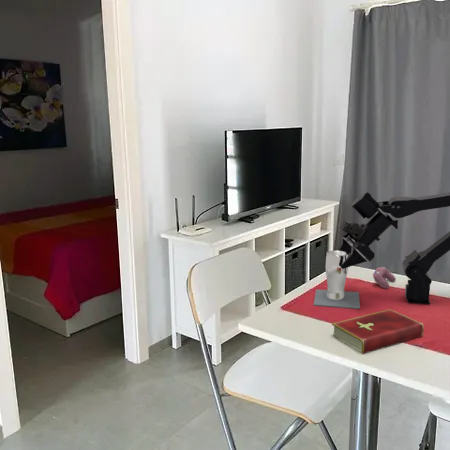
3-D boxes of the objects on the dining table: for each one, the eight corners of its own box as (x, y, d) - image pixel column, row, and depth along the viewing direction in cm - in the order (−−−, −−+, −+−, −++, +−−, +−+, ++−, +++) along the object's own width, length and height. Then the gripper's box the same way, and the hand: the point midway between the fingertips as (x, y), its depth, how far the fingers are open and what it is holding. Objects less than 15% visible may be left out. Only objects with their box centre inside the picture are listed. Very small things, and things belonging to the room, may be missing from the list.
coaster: (358, 293, 162) (358, 292, 162) (359, 309, 149) (359, 307, 149) (316, 290, 165) (316, 289, 165) (313, 305, 152) (313, 304, 152)
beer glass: (343, 303, 153) (345, 257, 149) (321, 299, 156) (323, 254, 153) (348, 296, 159) (350, 251, 155) (328, 292, 162) (329, 249, 159)
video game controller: (385, 284, 175) (377, 266, 176) (397, 280, 173) (389, 262, 173) (377, 292, 167) (368, 273, 168) (389, 288, 165) (381, 269, 165)
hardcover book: (423, 338, 130) (424, 323, 129) (362, 355, 121) (363, 340, 120) (389, 321, 140) (390, 308, 139) (331, 336, 131) (332, 322, 130)
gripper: (348, 206, 160) (314, 239, 162) (365, 217, 142) (327, 254, 144) (371, 228, 162) (337, 261, 164) (390, 242, 144) (352, 279, 146)
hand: (337, 263), depth 154 cm, fingers open, 9 cm apart
